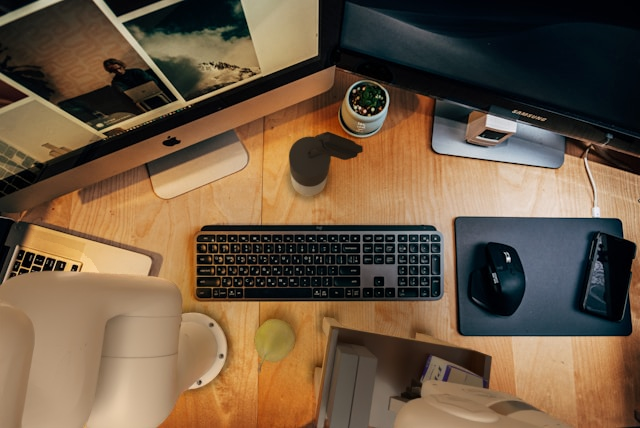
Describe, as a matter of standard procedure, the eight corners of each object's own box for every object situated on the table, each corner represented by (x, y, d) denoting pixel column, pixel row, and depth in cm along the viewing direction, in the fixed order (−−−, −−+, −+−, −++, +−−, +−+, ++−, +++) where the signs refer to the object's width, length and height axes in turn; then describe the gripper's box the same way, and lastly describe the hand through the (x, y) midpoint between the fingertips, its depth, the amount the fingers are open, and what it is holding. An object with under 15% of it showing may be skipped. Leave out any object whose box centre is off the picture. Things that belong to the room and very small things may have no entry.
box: (428, 352, 55) (450, 363, 46) (461, 366, 55) (490, 380, 46) (406, 414, 54) (425, 437, 45) (440, 428, 53) (465, 455, 45)
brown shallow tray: (315, 415, 54) (316, 428, 49) (330, 325, 56) (332, 328, 51) (467, 441, 54) (482, 456, 49) (476, 350, 56) (492, 356, 51)
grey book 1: (324, 403, 53) (328, 429, 44) (334, 341, 55) (340, 352, 45) (339, 406, 53) (347, 432, 44) (349, 343, 55) (359, 355, 45)
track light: (309, 199, 84) (397, 180, 71) (237, 185, 72) (327, 159, 59) (308, 166, 85) (395, 141, 72) (237, 147, 73) (326, 113, 60)
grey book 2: (340, 406, 53) (348, 432, 44) (349, 343, 55) (359, 355, 45) (355, 409, 53) (366, 436, 44) (364, 346, 55) (377, 358, 45)
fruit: (301, 327, 77) (301, 334, 65) (283, 368, 76) (279, 383, 64) (267, 311, 77) (260, 315, 65) (248, 352, 76) (238, 363, 64)
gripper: (635, 423, 33) (521, 376, 51) (412, 384, 33) (374, 351, 51) (631, 530, 32) (515, 445, 50) (398, 490, 32) (365, 419, 50)
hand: (444, 398), depth 50 cm, fingers open, 6 cm apart
